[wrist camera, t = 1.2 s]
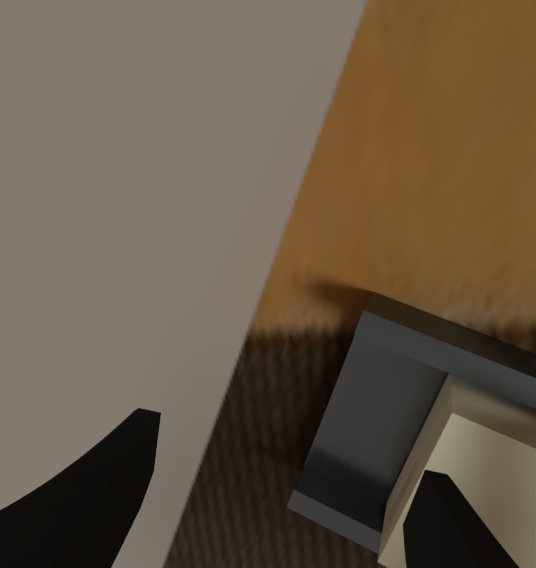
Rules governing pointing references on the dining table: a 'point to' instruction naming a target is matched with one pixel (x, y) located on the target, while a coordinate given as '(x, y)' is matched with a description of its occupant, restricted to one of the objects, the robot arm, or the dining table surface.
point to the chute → (393, 410)
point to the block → (473, 467)
